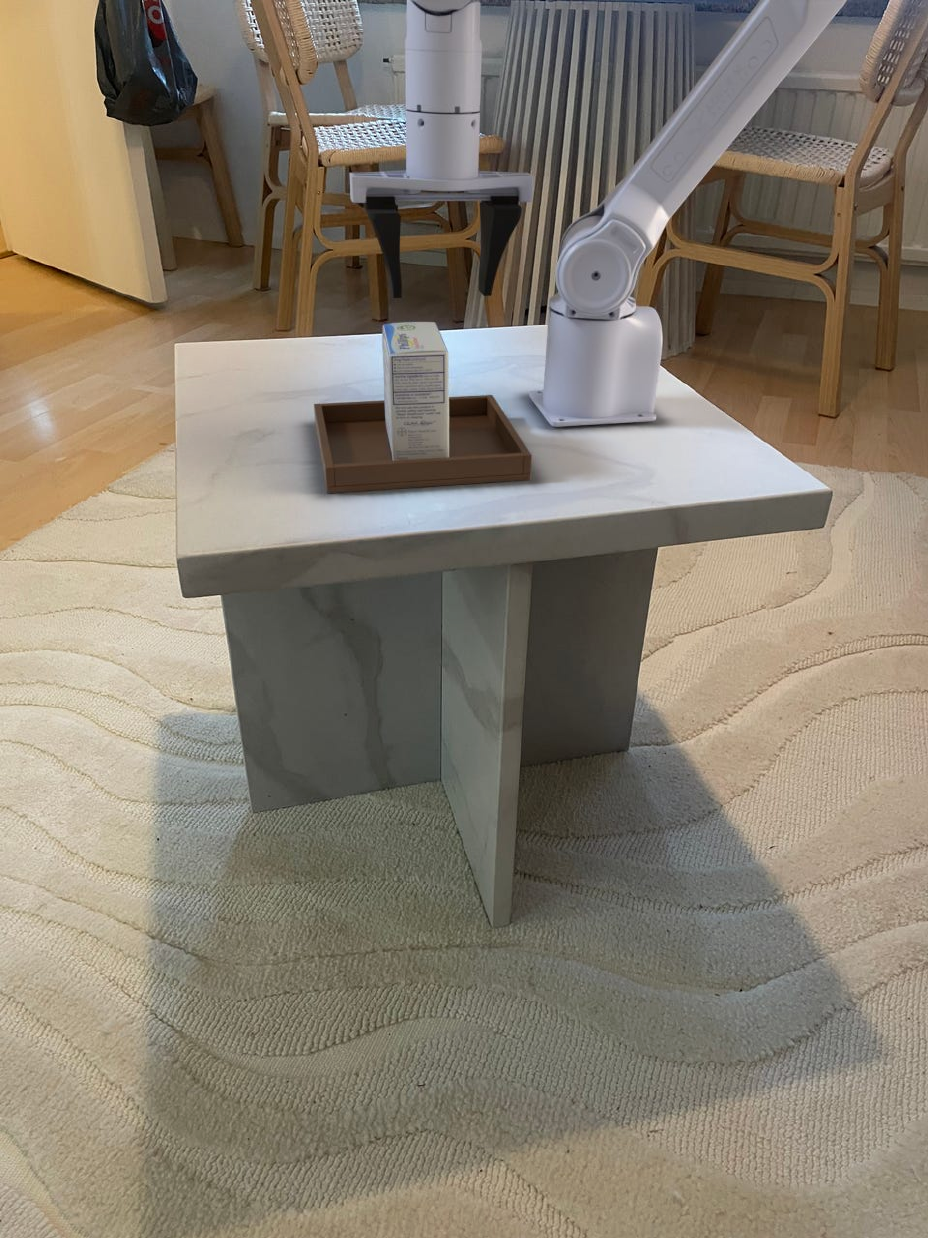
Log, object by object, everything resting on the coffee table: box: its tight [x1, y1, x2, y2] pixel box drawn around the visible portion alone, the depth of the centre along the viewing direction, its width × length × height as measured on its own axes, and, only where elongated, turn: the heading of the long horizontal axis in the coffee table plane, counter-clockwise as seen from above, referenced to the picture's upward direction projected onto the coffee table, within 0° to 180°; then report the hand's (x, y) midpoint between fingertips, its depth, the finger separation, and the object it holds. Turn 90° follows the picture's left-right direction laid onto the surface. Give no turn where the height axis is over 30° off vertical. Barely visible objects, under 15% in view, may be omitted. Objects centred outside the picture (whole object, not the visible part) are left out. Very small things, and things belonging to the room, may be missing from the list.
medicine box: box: [381, 321, 450, 461], centre depth 70 cm, size 8×4×9 cm, turn 8°
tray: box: [313, 394, 533, 494], centre depth 72 cm, size 15×13×2 cm
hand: (440, 294), depth 77 cm, fingers open, 7 cm apart
